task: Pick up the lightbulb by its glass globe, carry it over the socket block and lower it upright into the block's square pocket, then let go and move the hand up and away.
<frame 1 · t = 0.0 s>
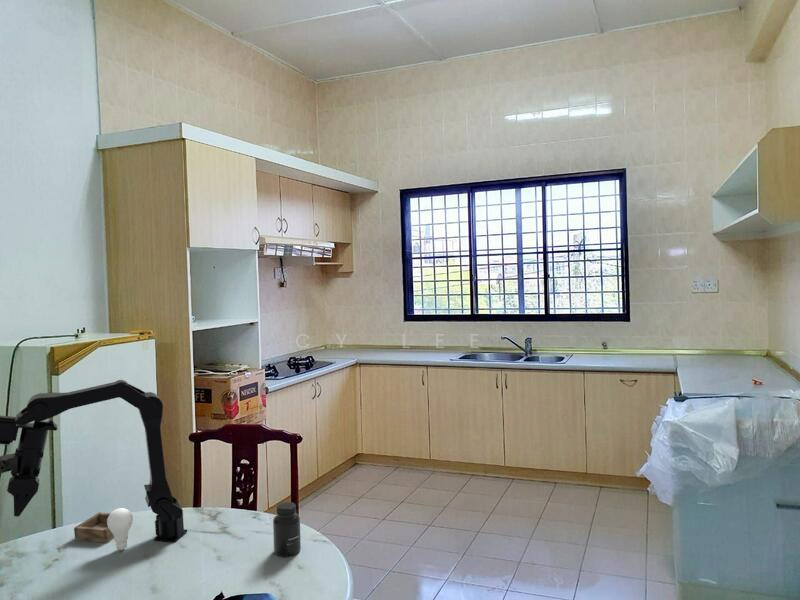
hand: (17, 509, 152), 15 cm above the table, tool pointing down, fingers open, 9 cm apart
socket block: (103, 533, 172), on the table
lightbulb: (122, 550, 162), on the table
supplement bottle: (287, 551, 159), on the table
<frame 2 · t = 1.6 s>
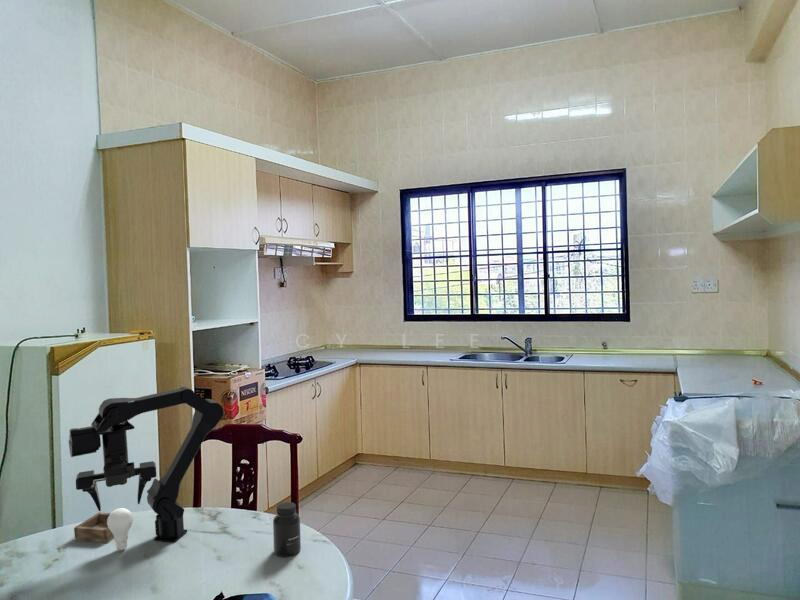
hand: (119, 507, 161), 12 cm above the table, tool pointing down, fingers open, 9 cm apart
nothing on the table moved.
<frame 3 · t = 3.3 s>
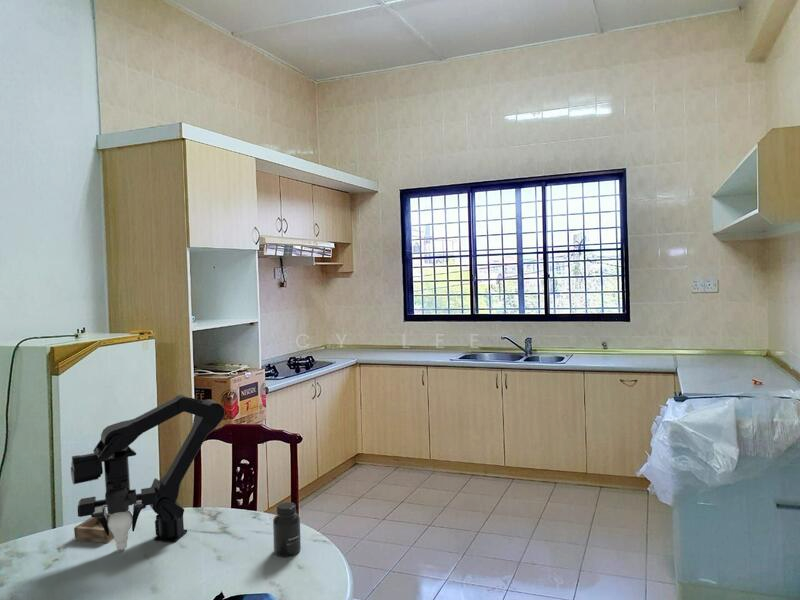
hand: (120, 533, 162), 5 cm above the table, tool pointing down, fingers closed on lightbulb, 5 cm apart
lightbulb: (122, 550, 162), on the table, touching gripper
everything else where it was.
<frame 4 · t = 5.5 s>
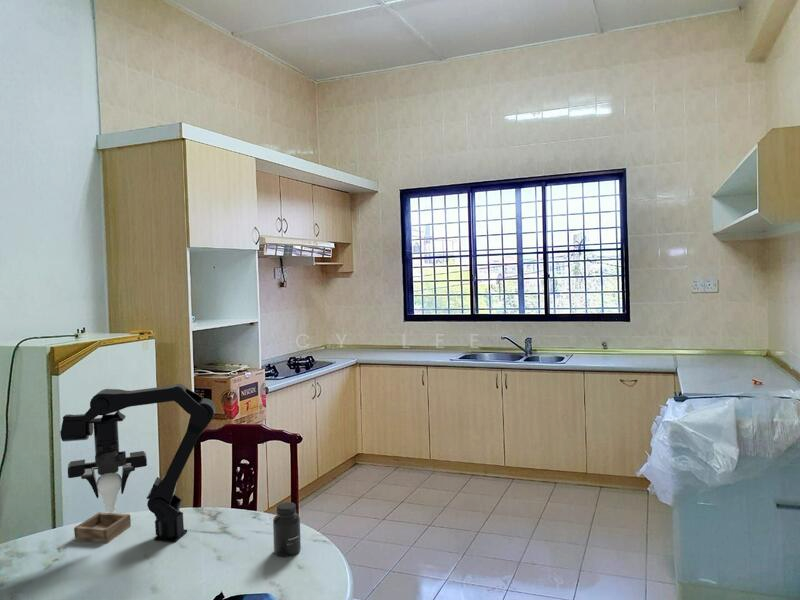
hand: (110, 495, 165), 13 cm above the table, tool pointing down, fingers closed on lightbulb, 5 cm apart
lightbulb: (111, 512, 166), point 8 cm above the table, touching gripper
everything else where it was.
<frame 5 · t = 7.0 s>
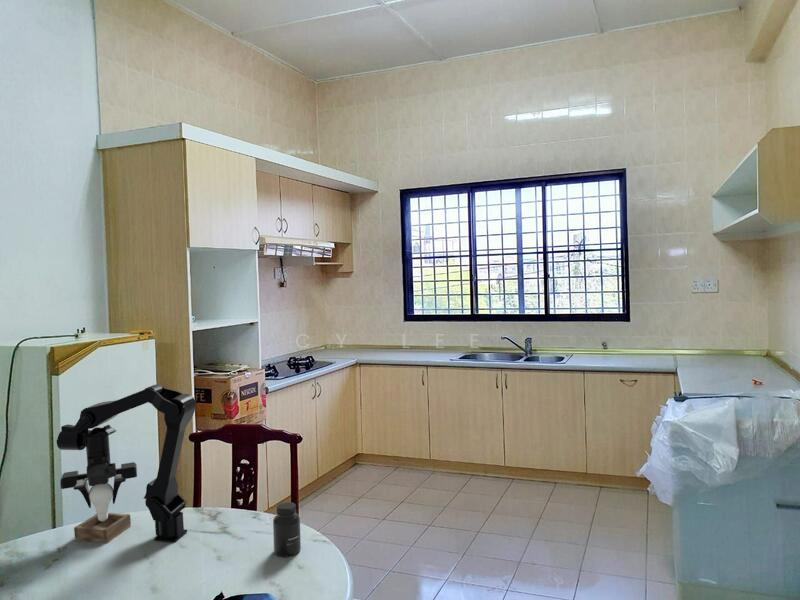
hand: (102, 505, 172), 8 cm above the table, tool pointing down, fingers closed on lightbulb, 5 cm apart
lightbulb: (103, 521, 172), point 3 cm above the table, touching gripper
everything else where it was.
when the fingers open (7 cm above the table, at t = 8.1 s): lightbulb drops 1 cm, resting on socket block.
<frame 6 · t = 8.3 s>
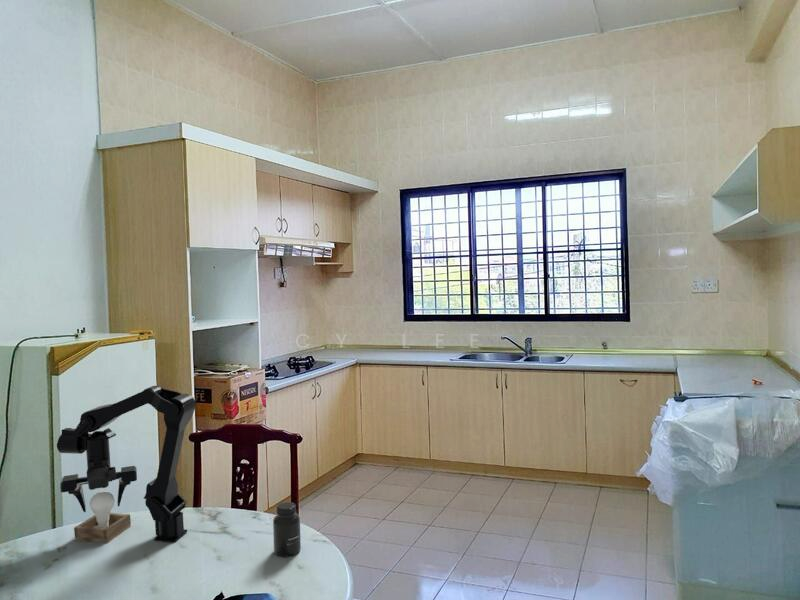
hand: (101, 508, 172), 7 cm above the table, tool pointing down, fingers open, 8 cm apart
lightbulb: (103, 530, 172), point 1 cm above the table, touching socket block
everything else where it was.
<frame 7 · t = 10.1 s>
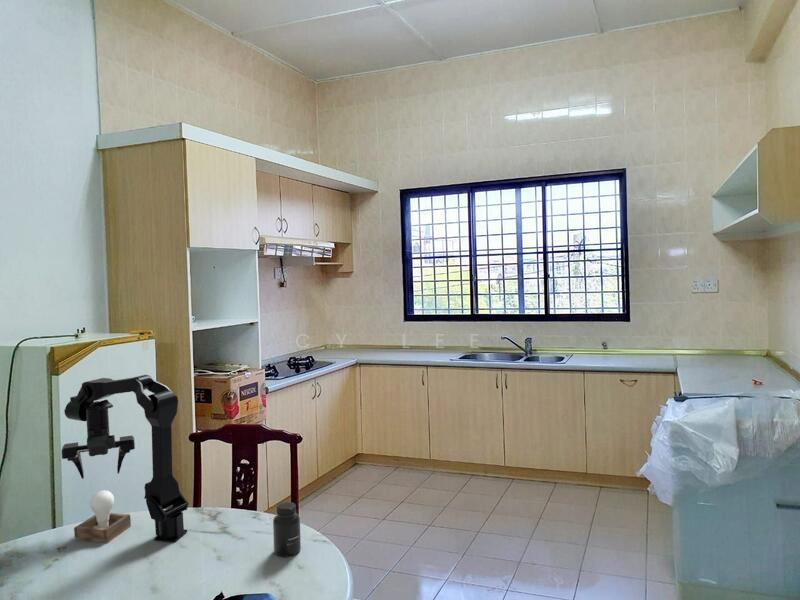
hand: (100, 475, 180), 13 cm above the table, tool pointing down, fingers open, 9 cm apart
nothing on the table moved.
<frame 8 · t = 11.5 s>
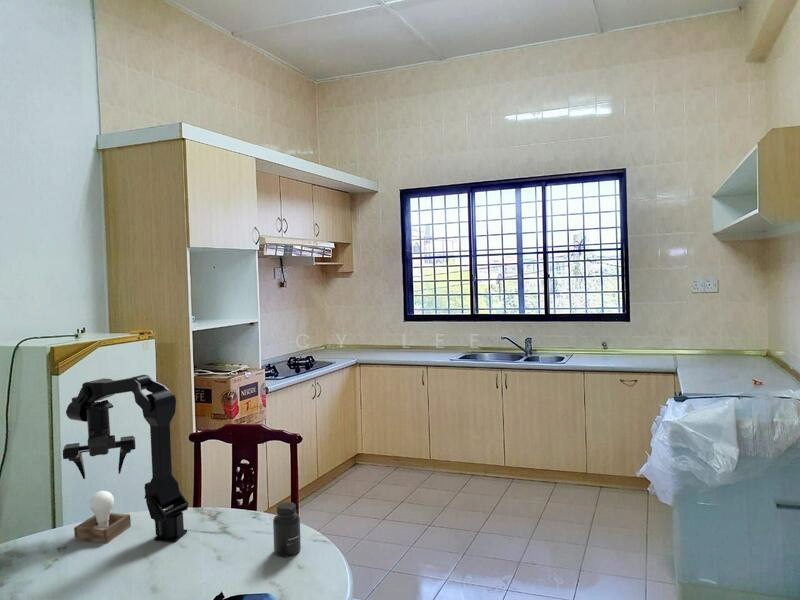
hand: (102, 475, 181), 13 cm above the table, tool pointing down, fingers open, 9 cm apart
nothing on the table moved.
at the end: lightbulb 0.4 cm off-centre on the socket block, point 0.8 cm above the socket block's base; lightbulb tilted 0°; the gripper is holding nothing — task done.
